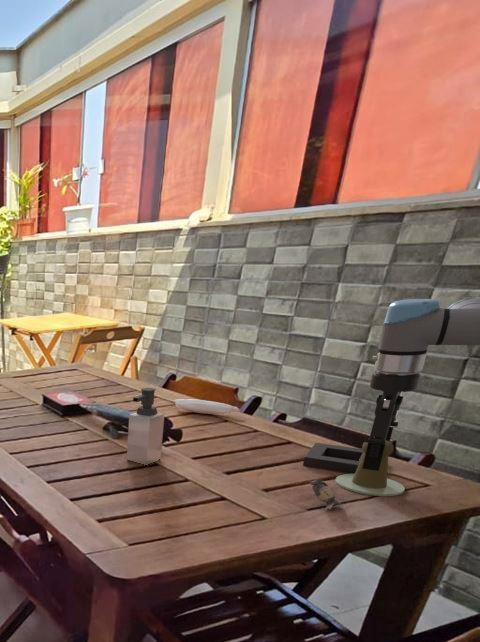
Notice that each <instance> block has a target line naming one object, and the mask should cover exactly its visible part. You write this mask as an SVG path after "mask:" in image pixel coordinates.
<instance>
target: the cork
mask: <svg viewBox="0 0 480 642" xmlns="http://www.w3.org/2000/svg"><path fill="white" fill-rule="evenodd" d="M385 441H386V440H385ZM367 446H368V443H366V442H363V443H362V447H361V449H363V451H364V454H363V456H362V459H361V461H360V463H359V466H358V468H357V470H356V472H355V475H354V477H353V479H352V482H353V483H354V484H356V485H359V486H362V487H367V488H377V489H379V488H385V487H386V486H387V478H388V469H389V468H388V467H389V456H390V455H391V454H392V453H393V452H394V449H395V448H394V444H393V443H392V442H391V441H390V442H389V441H386V444H385V448H384V452H383V456H382V460H381V464H380V468H379V471H375V470H368V469H362V467H363V463H364V459H365V455H366V451H367Z"/></svg>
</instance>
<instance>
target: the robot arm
mask: <svg viewBox="0 0 480 642" xmlns="http://www.w3.org/2000/svg"><path fill="white" fill-rule="evenodd" d="M429 346H480V296H477V297H469V298H464V299H460V300H457V301H456V302H453V303H452V304H451V305H449V306H448V307H446V308H444V307H441V306H440V300H438V299H435V298H407V299H400V300H395V301H393V302H392V303H391V304H389V305H388V307H387V311H386V314H385V318H384V321H383V325H382V328H381V335H380V339H379V344H378V349H377V354H376V355H373V356H372V357H371V360H372V361H374V365H373V366H374V367H373V369H374V370H375V371H373V372H372V374H371V379H370V383H369V387H370V389H372V390H375V391H381V392H383V393H382V394H378V396H377V398H376V400H375V410H374V420H373V423H372V427H371V430H370V434H369V438H364V440H363V441H364V442H366V443H368V446H367V451H366V455H365V459H364V463H363V467H362V469H368V470H375V471H379V468H380V464H381V460H382V456H383V452H384V448H385V444H386V441H389V442H391V438H392V435H393V434H392V433H393V431H394V427H395V428H396V427H398V426H399V422H398V421H396V420H397V414H398V411H399V410H400V407H401V406H402V403H403V400H404V396H403V395H401V394H402V393H407V392H408V393H410V392H414V391H416V390H417V389H418V386H419V383H420V378H421V374H420V373H421V371H422V372H423V369H424V365H425V362H426V358H427V353H428V352H427V351H428V348H429ZM385 440H386V441H385ZM364 442H363V443H364Z"/></svg>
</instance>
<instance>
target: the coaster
mask: <svg viewBox="0 0 480 642" xmlns="http://www.w3.org/2000/svg"><path fill="white" fill-rule="evenodd" d="M354 475H355V474H353V473H343V474H340V475H337V476H336V477H335V479H334V482H335V484H336V485H337V486H339V487H341V488H343V489H344V490H347V491H350V492H353V493H356V494H357V493H358V494H362V495H366V496H373V497H395V496H400V495H402V494H403V493H404V492H405V491H406V488H405V486H404V485H403V484H402V483H401V482H398V481H396V480H393V479H390V478H388V477H387V486H386V487H385V488H379V489H377V488H367V487H362V486H359V485H356V484H354V483H353V482H352V479H353V477H354Z"/></svg>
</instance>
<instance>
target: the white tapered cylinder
mask: <svg viewBox="0 0 480 642" xmlns="http://www.w3.org/2000/svg"><path fill="white" fill-rule="evenodd" d="M174 403H175V404H174V405H175V406H176V408H177V409H180V410H182V411H186V412H190V413H195V414H206V415H219V414H221V415H222V414H230V413H233V412H234V413H237V412H240V411H241V410H240V408H238V406H233V405H231V404H227V403H223V402H218V401H212V400H204V399H193V398H192V399H191V398H190V399H189V398H180V399H174Z"/></svg>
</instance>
